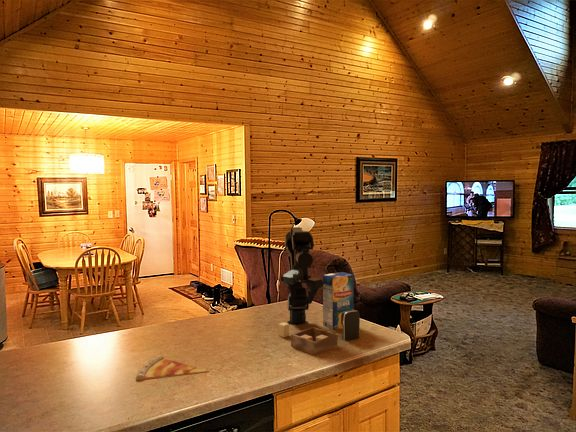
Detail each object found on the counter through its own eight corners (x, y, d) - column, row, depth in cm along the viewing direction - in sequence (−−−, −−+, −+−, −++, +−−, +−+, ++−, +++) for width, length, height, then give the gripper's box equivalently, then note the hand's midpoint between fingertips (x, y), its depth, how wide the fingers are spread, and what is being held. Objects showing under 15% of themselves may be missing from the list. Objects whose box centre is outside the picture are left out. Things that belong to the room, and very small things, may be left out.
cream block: (315, 346, 160) (315, 336, 160) (322, 343, 162) (322, 334, 162) (323, 348, 158) (323, 339, 157) (329, 346, 160) (329, 336, 160)
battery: (354, 336, 172) (354, 308, 171) (359, 339, 168) (360, 310, 168) (339, 339, 169) (339, 310, 168) (345, 342, 165) (345, 313, 164)
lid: (260, 338, 172) (260, 323, 171) (284, 330, 181) (284, 316, 180) (282, 347, 162) (283, 332, 162) (307, 338, 171) (307, 324, 171)
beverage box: (322, 326, 184) (322, 274, 182) (343, 322, 190) (343, 271, 188) (332, 331, 178) (332, 277, 177) (353, 326, 184) (353, 274, 182)
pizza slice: (174, 394, 126) (174, 387, 126) (121, 377, 137) (121, 370, 137) (209, 373, 140) (209, 367, 140) (158, 359, 151) (158, 353, 151)
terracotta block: (298, 346, 160) (298, 336, 160) (305, 343, 163) (305, 334, 162) (305, 348, 158) (305, 339, 157) (312, 346, 160) (312, 336, 160)
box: (290, 347, 160) (290, 334, 160) (312, 339, 169) (313, 326, 168) (315, 357, 152) (315, 342, 151) (337, 347, 160) (337, 334, 160)
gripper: (270, 262, 174) (270, 300, 176) (304, 268, 161) (304, 310, 162) (290, 258, 182) (290, 295, 183) (324, 264, 169) (324, 304, 170)
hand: (301, 301), depth 175 cm, fingers open, 9 cm apart
